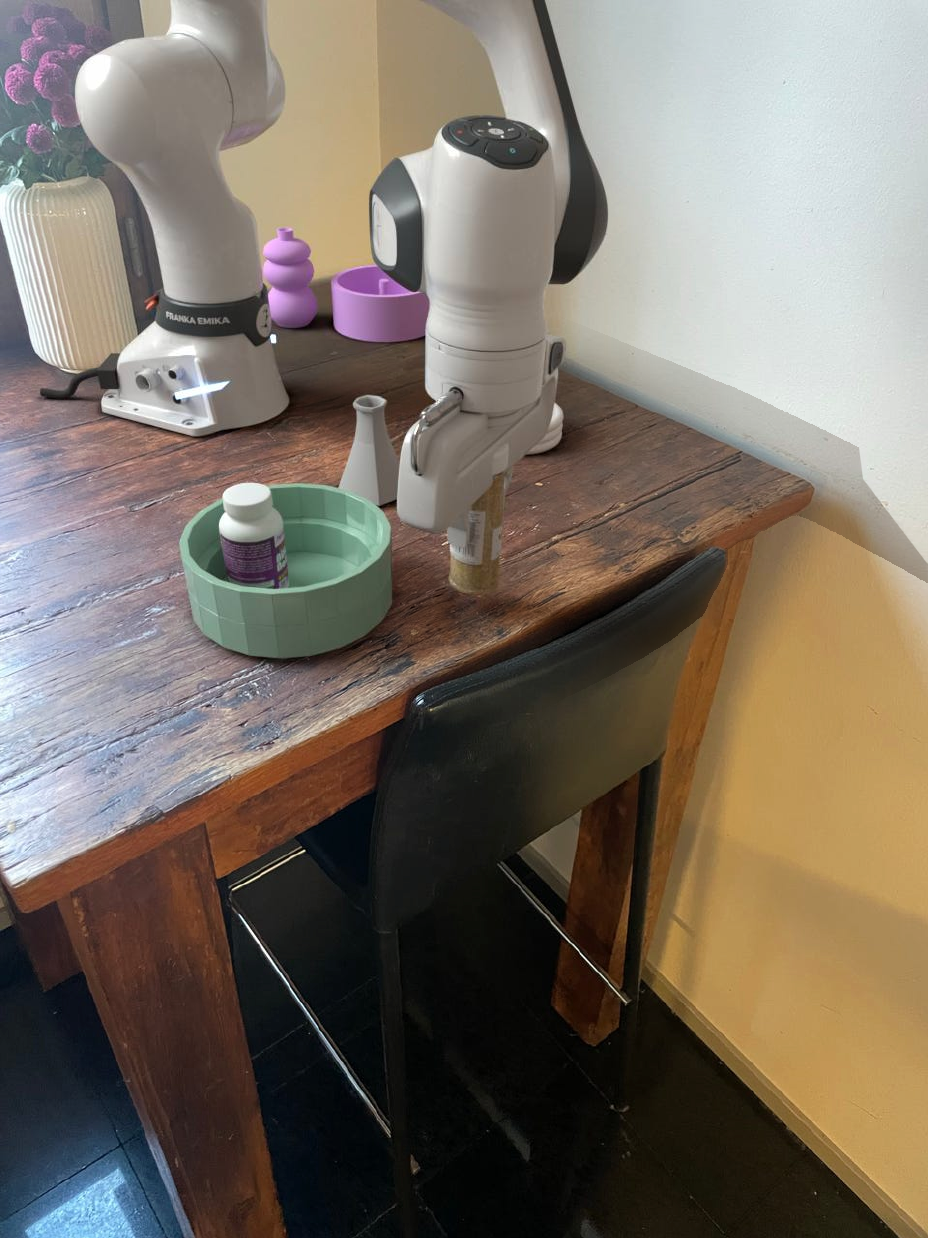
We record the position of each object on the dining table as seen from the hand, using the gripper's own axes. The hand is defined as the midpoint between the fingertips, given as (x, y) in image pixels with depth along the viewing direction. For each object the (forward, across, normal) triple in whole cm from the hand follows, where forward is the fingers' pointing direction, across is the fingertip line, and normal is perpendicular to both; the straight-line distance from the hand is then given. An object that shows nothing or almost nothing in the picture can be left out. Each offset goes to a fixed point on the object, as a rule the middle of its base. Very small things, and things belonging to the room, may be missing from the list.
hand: (476, 526), depth 78 cm
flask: (+9, +13, +19) cm, 24 cm away
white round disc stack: (+8, +32, +11) cm, 35 cm away
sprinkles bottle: (+6, 0, 0) cm, 6 cm away
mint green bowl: (+8, -7, +14) cm, 18 cm away
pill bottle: (+8, -8, +17) cm, 21 cm away
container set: (+9, +54, +49) cm, 74 cm away
